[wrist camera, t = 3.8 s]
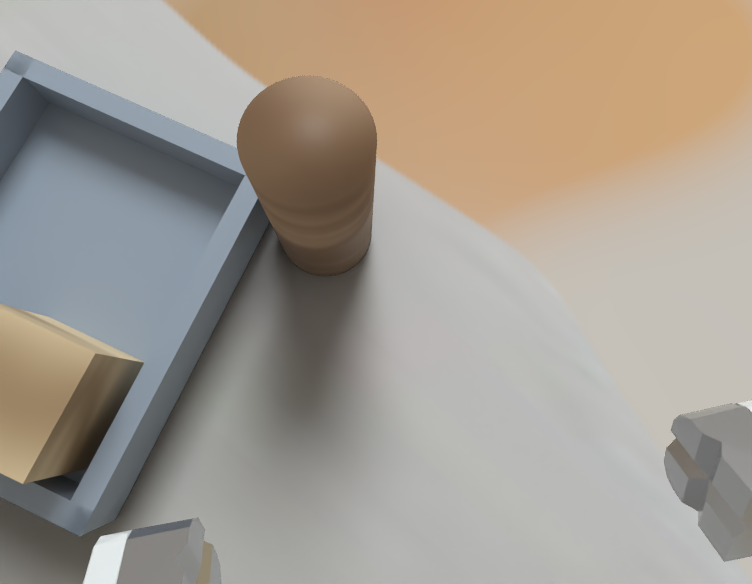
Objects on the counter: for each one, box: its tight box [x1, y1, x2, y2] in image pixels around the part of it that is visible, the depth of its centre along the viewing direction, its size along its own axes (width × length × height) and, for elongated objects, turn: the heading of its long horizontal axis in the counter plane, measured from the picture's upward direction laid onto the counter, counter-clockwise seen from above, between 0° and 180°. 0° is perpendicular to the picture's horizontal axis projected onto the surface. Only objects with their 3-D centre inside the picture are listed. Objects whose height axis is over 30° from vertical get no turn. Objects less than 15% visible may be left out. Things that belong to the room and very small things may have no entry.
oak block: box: [0, 304, 145, 484], centre depth 18 cm, size 4×4×4 cm
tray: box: [0, 51, 270, 536], centre depth 20 cm, size 14×11×3 cm
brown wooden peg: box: [237, 76, 377, 276], centre depth 18 cm, size 4×4×8 cm
